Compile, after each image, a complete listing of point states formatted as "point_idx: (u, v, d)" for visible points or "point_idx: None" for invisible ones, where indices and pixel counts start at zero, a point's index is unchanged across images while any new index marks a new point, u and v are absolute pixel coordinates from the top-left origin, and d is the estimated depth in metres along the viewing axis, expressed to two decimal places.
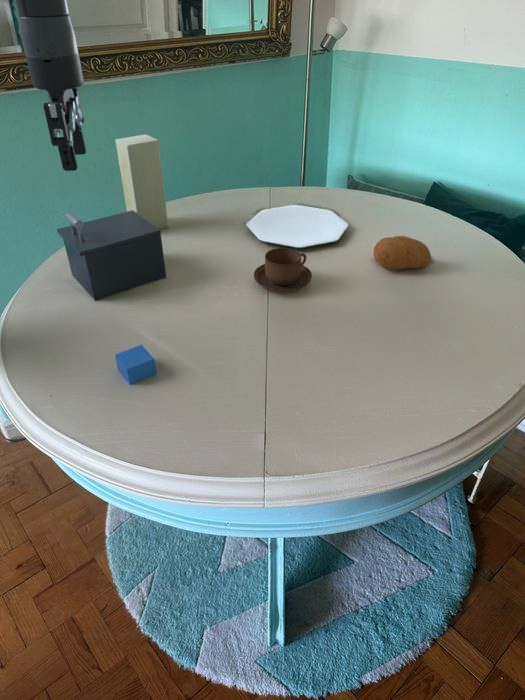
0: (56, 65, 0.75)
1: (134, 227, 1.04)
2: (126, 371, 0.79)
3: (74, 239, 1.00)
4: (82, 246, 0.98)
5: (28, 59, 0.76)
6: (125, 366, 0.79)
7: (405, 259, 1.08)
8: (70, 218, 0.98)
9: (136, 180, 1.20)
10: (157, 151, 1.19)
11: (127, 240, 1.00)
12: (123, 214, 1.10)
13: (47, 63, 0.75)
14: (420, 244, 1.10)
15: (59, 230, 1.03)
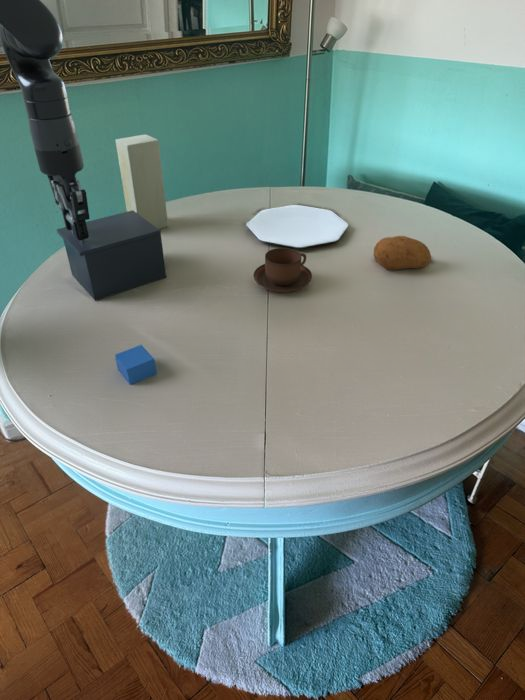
0: (71, 154, 0.89)
1: (134, 227, 1.04)
2: (126, 371, 0.79)
3: (74, 239, 1.00)
4: (82, 246, 0.98)
5: (44, 153, 0.88)
6: (125, 366, 0.79)
7: (405, 259, 1.08)
8: (70, 218, 0.98)
9: (136, 180, 1.20)
10: (157, 151, 1.19)
11: (127, 240, 1.00)
12: (123, 214, 1.10)
13: (64, 154, 0.88)
14: (420, 244, 1.10)
15: (59, 230, 1.03)
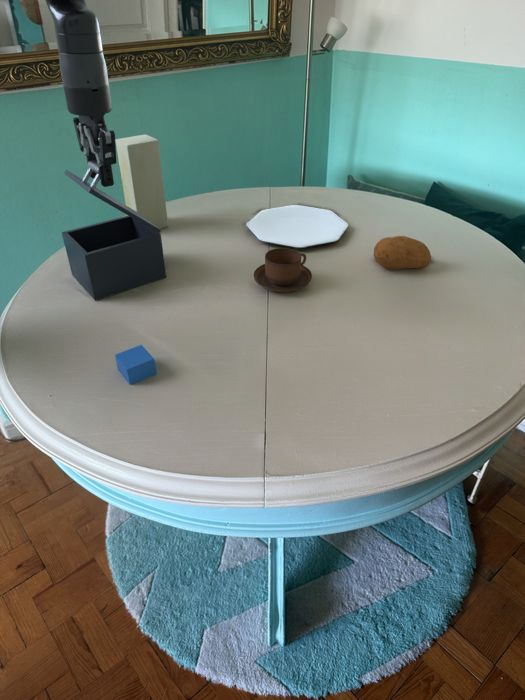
0: (101, 93, 0.87)
1: (138, 215, 1.03)
2: (126, 371, 0.79)
3: (84, 182, 0.96)
4: (93, 189, 0.93)
5: (74, 90, 0.86)
6: (125, 366, 0.79)
7: (405, 259, 1.08)
8: (95, 163, 0.96)
9: (136, 180, 1.20)
10: (157, 151, 1.19)
11: (132, 214, 0.98)
12: (126, 206, 1.09)
13: (95, 92, 0.86)
14: (420, 244, 1.10)
15: None
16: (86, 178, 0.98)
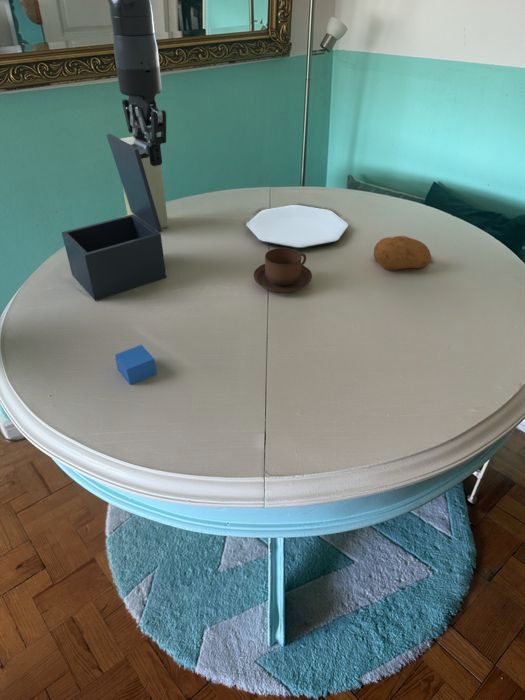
0: (153, 74, 0.91)
1: None
2: (126, 371, 0.79)
3: None
4: None
5: (127, 71, 0.89)
6: (125, 366, 0.79)
7: (405, 259, 1.08)
8: (145, 142, 0.99)
9: None
10: None
11: (151, 198, 0.99)
12: None
13: (147, 73, 0.90)
14: (420, 244, 1.10)
15: None
16: None
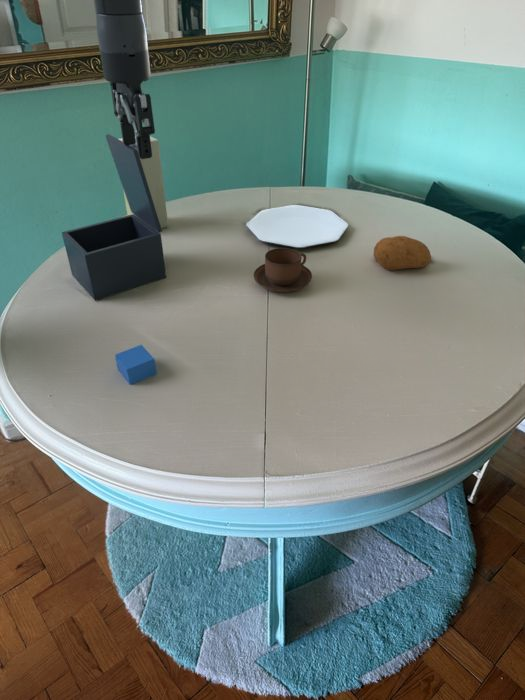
0: (138, 59, 0.81)
1: None
2: (126, 371, 0.79)
3: None
4: None
5: (109, 55, 0.80)
6: (125, 366, 0.79)
7: (405, 259, 1.08)
8: None
9: None
10: (157, 151, 1.19)
11: (151, 199, 0.99)
12: None
13: (131, 58, 0.80)
14: (420, 244, 1.10)
15: None
16: None
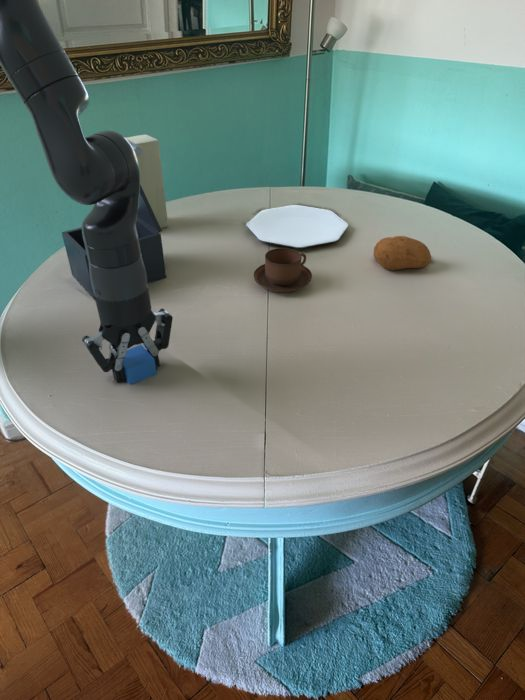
0: (101, 305, 0.71)
1: None
2: (126, 371, 0.79)
3: None
4: None
5: None
6: (125, 366, 0.79)
7: (405, 259, 1.08)
8: (134, 143, 0.98)
9: None
10: (157, 151, 1.19)
11: (146, 201, 0.99)
12: None
13: (96, 300, 0.72)
14: (420, 244, 1.10)
15: None
16: None
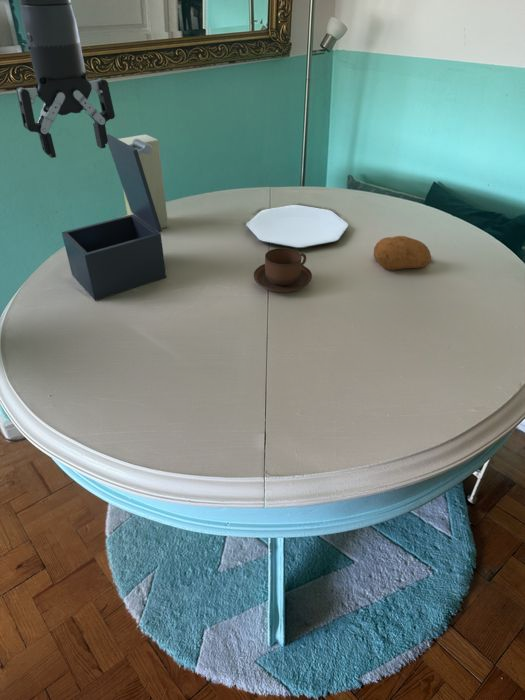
0: (34, 54, 0.76)
1: None
2: None
3: None
4: None
5: None
6: None
7: (405, 259, 1.08)
8: (144, 142, 0.99)
9: None
10: (157, 151, 1.19)
11: (151, 199, 0.99)
12: None
13: (29, 50, 0.76)
14: (420, 244, 1.10)
15: None
16: None
